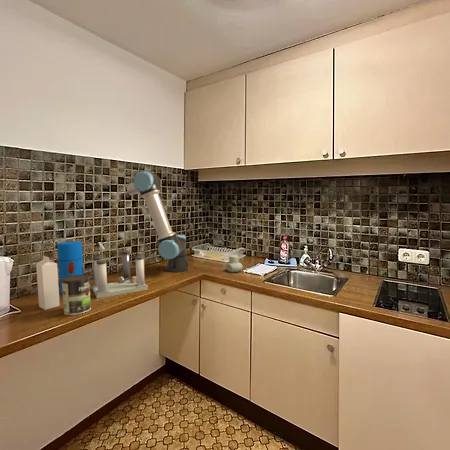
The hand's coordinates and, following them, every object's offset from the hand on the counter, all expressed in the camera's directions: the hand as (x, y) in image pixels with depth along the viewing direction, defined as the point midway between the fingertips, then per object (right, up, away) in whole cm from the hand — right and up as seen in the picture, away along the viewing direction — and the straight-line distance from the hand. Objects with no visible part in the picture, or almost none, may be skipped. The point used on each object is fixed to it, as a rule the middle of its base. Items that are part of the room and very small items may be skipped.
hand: (103, 250), depth 167 cm
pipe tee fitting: (+77, -15, +14) cm, 80 cm away
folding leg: (+17, -15, -11) cm, 25 cm away
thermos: (-5, -19, -24) cm, 31 cm away
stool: (+18, -18, -21) cm, 33 cm away
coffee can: (+10, -21, -48) cm, 53 cm away
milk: (-5, -21, -43) cm, 48 cm away
